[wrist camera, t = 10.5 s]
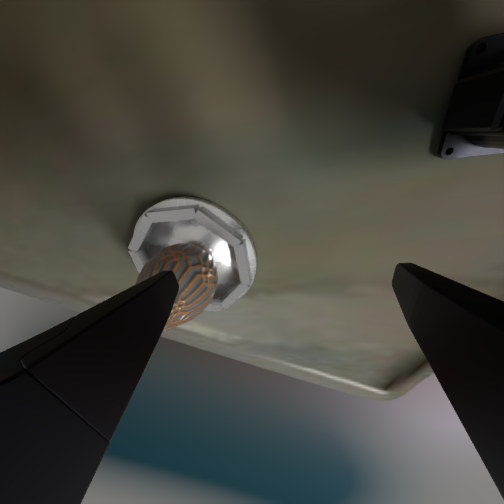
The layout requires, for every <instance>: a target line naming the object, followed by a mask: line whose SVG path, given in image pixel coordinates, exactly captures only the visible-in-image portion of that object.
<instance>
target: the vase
mask: <svg viewBox="0 0 504 504" xmlns="http://www.w3.org/2000/svg"><path fill="white" fill-rule="evenodd" d="M164 270H172V271H173V272H174V273H175V276H176V278H177V281H178V283H179V291H178V294H177V297H176V299H175V302H174V305H173V308H172V311H171V313H170V316H169V319H168V321H167V323H166V325H165V328H164V330H163V332H162V334H163V333H165V332H166V331H167V330H169V329H170V328H172V327H175V326H178V325H181V324H184V323H186V322H189V321H191V320H192V319H194V318H195V317H197V316H198V315H199V314H200V313H202V312H203V311H204V309H205V308H206V307H207V306H208V305H209V303H210V302H211V300H212V298H213V296H214V293H215V291H216V287H217V282H218V271H217V267H216V264H215V262H214V260H213V258H212V257H211V256H210V254H209V253H208V252H206V251H205V250H204V249H202V248H201V247H199V246H196V245H193V244H188V243H179V244H174V245H170V246H168V247H165V248H163V249H161V250H160V251H158V252H157V253H156V254H154V255H153V256H152V257H151V258H150V259H149V260H148V261H147V262H146V264H145V265H144V266H143V268H142V270H141V272H140V274H139V276H138V279H137V282H136V284H138V283H140V282H142V281H144V280H146V279H148V278H150V277H152V276H154V275H156V274H157V273H159V272H161V271H164ZM162 334H161V335H162Z"/></svg>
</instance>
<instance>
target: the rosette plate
mask: <svg viewBox="0 0 504 504" xmlns="http://www.w3.org/2000/svg"><path fill="white" fill-rule="evenodd" d="M179 243H188V244H193V245H196V246H199V247H201V248H202V249H204V250H205V251H206V252H208V253H209V254H210V256H211V257H212V258H213V260H214V262H215V264H216V267H217V271H218V282H217V287H216V291H215V293H214V296H213V298H212V300H211V302H210V303H209V305H208V306H207V307H206V308H205V309H204V311H223V309H225V310H226V309H227V308H228V307H229V306H230V305H231V304H232V303H233V302H235V301H236V300H238V299H240V298H241V297H242V296H243V295H244V294H245V293H246V292H247V291H248V290H249V288H250V287H251V285H252V283H253V280H254V277H255V273H256V268H257V254H256V249H255V246H254V243H253V240H252V238H251V236H250V234H249V233H248V231H247V230H246V228H245V227H244V225H243V224H242V223H241V222H240V221H239V220H238V219H237V218H236V217H235V216H234V215H233V214H231V213H230V212H229V211H227V210H226V209H224V208H223V207H221V206H219V205H217V204H215V203H213V202H211V201H208V200H205V199H202V198H197V197H190V196H178V197H172V198H168V199H166V200H163V201H161V202H159V203H157V204H155V205H153V206H152V207H150V208H149V209H147V210H146V211H145V212H144V213H143V214H142V215H141V217H140V218H139V220H138V221H137V223H136V226H135V229H134V233H133V238H132V240H131V242H130V244H129V247H128V248H129V249H130V250H129V251H128V252H129V254H130V256H131V258H132V260H133V262H134V264H135V266H136V268H137V270H138V272H139V274H140V272H141V270H142V268H143V266H144V265H145V264H146V262H147V261H148V260H149V259H150V258H151V257H152V256H153V255H154V254H156V253H157V252H158V251H160V250H161V249H163V248H165V247H168V246H170V245H174V244H179Z"/></svg>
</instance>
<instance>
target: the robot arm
mask: <svg viewBox="0 0 504 504" xmlns="http://www.w3.org/2000/svg"><path fill="white" fill-rule="evenodd" d="M478 45H480V46H481V50H480V52H479V54H476V48H477V46H478ZM443 129H444V132H443V136H442V139H441V143H440V146H439V150H438V157H440V158H443V159H451V158H460V157H469V156H478V155H486V154H495V153H504V33H501V34H496V35H492V36H487V37H483V38H481V39H479V40H477V41H475V42H473V43H472V44H471V45H470V46H469V48H468V49H467V52H466V54H465V58H464V62H463V65H462V69H461V72H460V76H459V79H458V82H457V83H456V85H455V86H454V90H453V93H452V97H451V100H450V104H449V108H448V111H447V115H446V118H445V122H444V125H443ZM448 148H450V151H449V153H447V154H445V151H446V150H447V149H448ZM392 287H393V289H394V292H395V294H396V297H397V299H398V302H399V304H400V307H401V309H402V312H403V314H404V317H405V319H406V321H407V324H408V326H409V328H410V329H411V331H412V333H413V335H414V337H415V339H416V340H417V342H418V344H419V346H420V348H421V350H422V351H423V353H424V355H425V357H426V359H427V361H428V362H429V364H430V366H431V368H432V370H433V371H434V373H435V375H436V377H437V379H438V381H439V382H440V384H441V386H442V388H443V390H444V392H445V393H446V395H447V397H448V399H449V400H450V402H451V404H452V406H453V408H454V410H455V412H456V413H457V415H458V417H459V419H460V421H461V423H462V424H463V426H464V428H465V430H466V432H467V433H468V435H469V437H470V439H471V441H472V443H473V444H474V446H475V448H476V450H477V452H478V453H479V455H480V457H481V459H482V461H483V463H484V464H485V466H486V468H487V470H488V472H489V473H490V475H491V477H492V479H493V481H494V482H495V484H496V486H497V488H498V490H499V492H500V494H501V495H502V497H503V499H504V302H503V301H501V300H499V299H496V298H494V297H492V296H489V295H487V294H484V293H482V292H480V291H477V290H475V289H472V288H470V287H468V286H465V285H463V284H461V283H458V282H456V281H453V280H451V279H449V278H446V277H444V276H441V275H439V274H437V273H434V272H432V271H430V270H427V269H425V268H422V267H420V266H418V265H415V264H413V263H399V264H397V266H396V268H395V272H394V276H393V280H392ZM178 291H179V283H178V281H177V278H176V276H175V273H174V272H173V271H172V270H164V271H161V272H159V273H157V274H156V275H154V276H152V277H150V278H148V279H146V280H144V281H142V282H140V283H138V284H136V285H134V286H132V287H130V288H128V289H127V290H125V291H123V292H121V293H119V294H117V295H115V296H113V297H111V298H109V299H107V300H105V301H103V302H101V303H99V304H98V305H96V306H94V307H92V308H90V309H88V310H86V311H84V312H82V313H80V314H78V315H77V316H75V317H73V318H70V319H69V320H67V321H65V322H63V323H61V324H59V325H57V326H55V327H53V328H51V329H49V330H47V331H45V332H43V333H41V334H39V335H36V336H35V337H32V338H30V339H28V340H26V341H24V342H22V343H20V344H18V345H16V346H13V347H11V348H9V349H7V350H6V351H3V352H1V353H0V504H81V502H82V500H83V498H84V495H85V494H86V491H87V489H88V487H89V485H90V483H91V481H92V479H93V477H94V475H95V473H96V470H97V468H98V466H99V464H100V462H101V460H102V458H103V455H104V453H105V451H106V449H107V447H108V445H109V441H111V439H112V436H113V434H114V432H115V430H116V428H117V426H118V424H119V422H120V420H121V418H122V415H123V413H124V411H125V409H126V407H127V405H128V403H129V401H130V399H131V396H132V395H133V393H134V390H135V388H136V386H137V384H138V382H139V380H140V378H141V376H142V373H143V372H144V369H145V367H146V365H147V363H148V361H149V359H150V357H151V354H152V353H153V351H154V349H155V346H156V344H157V342H158V340H159V338H160V336H161V334H162V332H163V330H164V328H165V325H166V323H167V321H168V319H169V316H170V313H171V311H172V308H173V305H174V302H175V299H176V297H177V294H178Z"/></svg>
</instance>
